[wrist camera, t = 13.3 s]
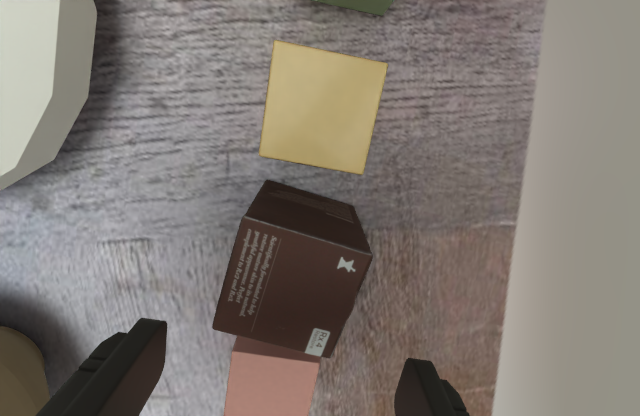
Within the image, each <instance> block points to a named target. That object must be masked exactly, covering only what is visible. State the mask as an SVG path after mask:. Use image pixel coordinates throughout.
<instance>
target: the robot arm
mask: <svg viewBox="0 0 640 416" xmlns="http://www.w3.org/2000/svg"><path fill="white" fill-rule="evenodd" d="M166 337H167V323H166V321H160V320H154V319H147V318H141V319H139V320H138V321H137V323H136V324H135V325H134V326H133V328H132V329H131V330H130V331H129V332H128V333H122V332H118V333H116V334H115V335H113V336H111V337H110V338H108V339H106V340H105V341H103V342H101V344H100V345H99V346H98V347H97V348H96V349H95V350H94V351H93V352H92V353H91V355H90V356H89V358H88V359H86V360H85V361H84V362H83V363H82V365H81V366H80V367H79V369H78V371H77V370H76V371H75V372H74V373H73V375H72V376H71V377H70V378H69V379H68V380H67V381H66V382H65V383H64V385H63V386H62V387H61V388H60V389H59V390H58V391H57V392H56V393H55V394H54V396H53V397H52V398H51V399H50V400H49V401H48V402H47V403H46V404H45V406H44V407H43V408H42V409H41V410H40V411H39V412H38V413H37V414H36V416H139V414H140V412H141V411H142V409H143V407H144V405H145V404H146V402H147V400H148V398H149V397H150V395H151V393H152V391H153V390H154V388H155V386H156V384H157V383H158V381H159V379H160V376H161V374H162V371H163V368H164V363H165V354H166ZM394 408H395V415H396V416H470V415H469V413H468V412H466V407H465V405H464V403H463V401H462V399H461V397H460V395H459V394H458V392H457V391H456V390H455V389H454V388H453V387H452V386H451V385H450V384H449V382H448V381H447V380H442V379H440V378H439V376H438V374H437V371H436V369H435V367H434V365H433V363H432V362H431V361H427V360H420V359H413V358H408V359H407V360H406V362H405V365H404V368H403V371H402V374H401V377H400V380H399V383H398V387H397V390H396V393H395V400H394Z"/></svg>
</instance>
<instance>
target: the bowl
mask: <svg viewBox="0 0 640 416" xmlns="http://www.w3.org/2000/svg"><path fill="white" fill-rule="evenodd" d="M44 370H45V362H44V358H43V356H42V353H41V352H40V350H39V348H38V347H37V346H36V344H35V343H34V342H33V341H32V340H30V339H29V338H28V337H27V336H25V335H24V334H22V333H20V332H19V331H16V330H14V329H12V328H8V327H4V326H0V416H36V414H37V413H38V412H39V411H40V410H41V409H42V408H43V407H44V406H45V404H46V403H47V402H48V401H49V400H50V394H49V388H48V384H47V380H46V377H45V374H44Z"/></svg>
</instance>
